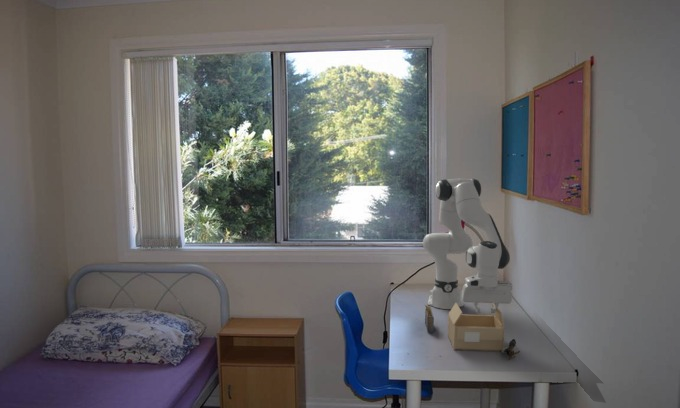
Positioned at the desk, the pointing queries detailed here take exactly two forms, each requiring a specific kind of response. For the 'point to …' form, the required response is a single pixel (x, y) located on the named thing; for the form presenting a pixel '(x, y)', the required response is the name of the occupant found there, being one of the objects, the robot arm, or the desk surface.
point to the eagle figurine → (510, 349)
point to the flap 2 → (498, 315)
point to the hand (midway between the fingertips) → (485, 312)
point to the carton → (476, 333)
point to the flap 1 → (455, 313)
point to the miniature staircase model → (429, 319)
